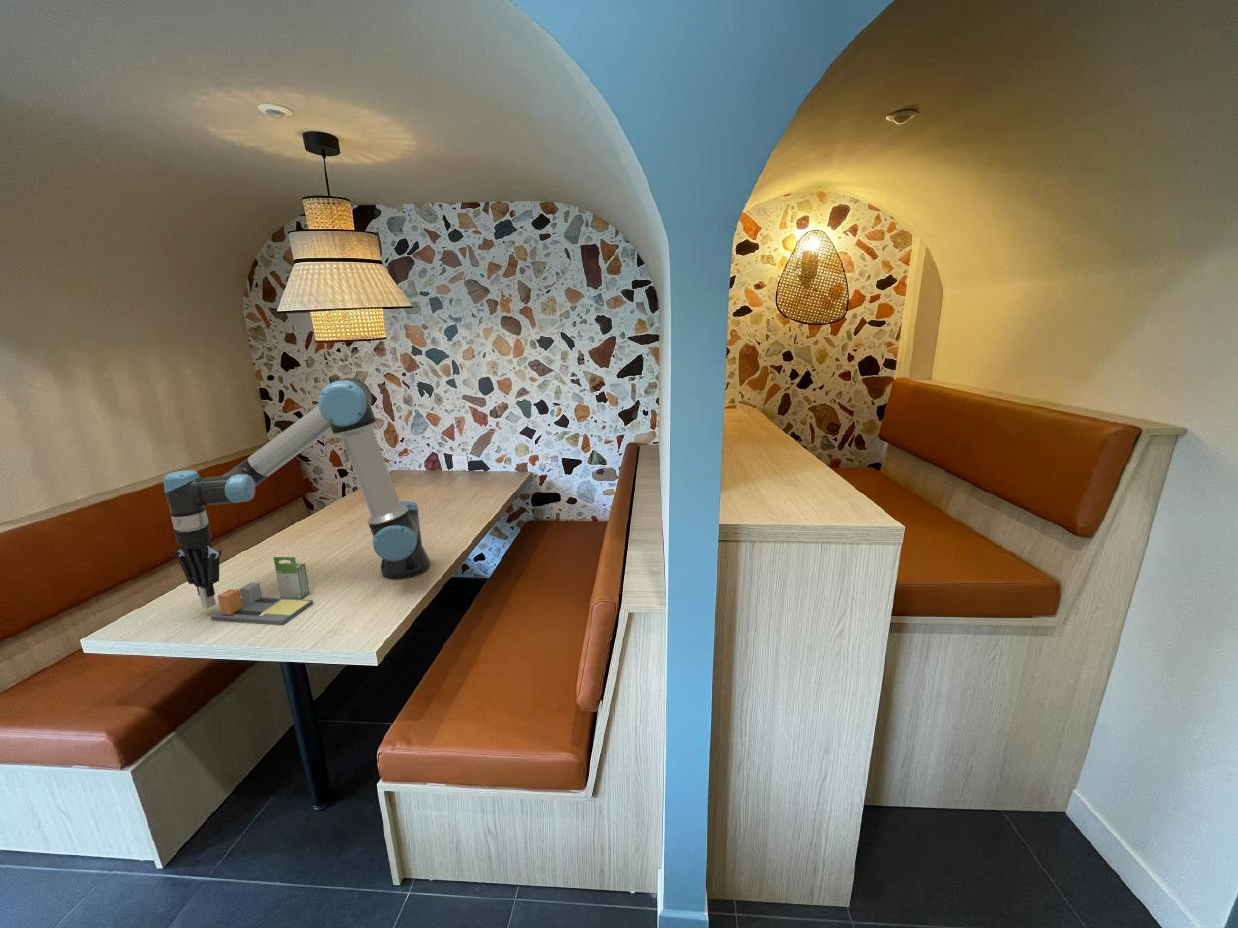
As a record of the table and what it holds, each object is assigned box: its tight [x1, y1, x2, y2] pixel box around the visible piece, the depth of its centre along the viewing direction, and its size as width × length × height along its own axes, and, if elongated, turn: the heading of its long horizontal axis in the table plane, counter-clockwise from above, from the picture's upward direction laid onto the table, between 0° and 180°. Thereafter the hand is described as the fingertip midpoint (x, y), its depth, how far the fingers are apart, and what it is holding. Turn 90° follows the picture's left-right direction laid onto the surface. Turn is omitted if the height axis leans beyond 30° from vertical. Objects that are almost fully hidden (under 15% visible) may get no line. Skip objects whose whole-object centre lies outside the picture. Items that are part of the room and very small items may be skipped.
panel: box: [210, 582, 314, 626], centre depth 154 cm, size 12×22×6 cm, turn 81°
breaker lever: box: [217, 588, 243, 615], centre depth 152 cm, size 4×3×6 cm
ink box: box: [272, 556, 310, 599], centre depth 162 cm, size 7×4×13 cm, turn 84°
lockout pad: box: [261, 599, 310, 616], centre depth 154 cm, size 8×9×1 cm
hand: (209, 606), depth 153 cm, fingers closed
